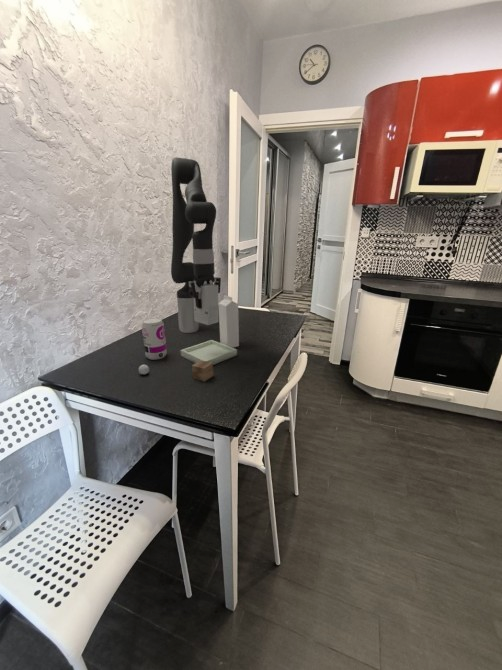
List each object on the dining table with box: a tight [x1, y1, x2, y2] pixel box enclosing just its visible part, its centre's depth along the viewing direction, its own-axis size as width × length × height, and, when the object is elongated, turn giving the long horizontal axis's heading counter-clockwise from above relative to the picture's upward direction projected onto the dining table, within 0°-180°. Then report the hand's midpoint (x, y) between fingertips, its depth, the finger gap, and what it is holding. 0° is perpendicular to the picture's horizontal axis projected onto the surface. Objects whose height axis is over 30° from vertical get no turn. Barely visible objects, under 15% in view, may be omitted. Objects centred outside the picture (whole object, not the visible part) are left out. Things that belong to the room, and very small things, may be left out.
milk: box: [218, 294, 240, 348], centre depth 129 cm, size 6×6×22 cm
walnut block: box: [191, 360, 214, 383], centre depth 105 cm, size 5×5×5 cm
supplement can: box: [141, 317, 168, 361], centre depth 120 cm, size 8×8×15 cm
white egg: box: [138, 364, 150, 376], centre depth 108 cm, size 4×4×4 cm
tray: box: [180, 339, 238, 366], centre depth 123 cm, size 16×16×2 cm
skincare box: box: [194, 283, 219, 326], centre depth 116 cm, size 8×6×15 cm
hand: (206, 306), depth 116 cm, fingers closed on skincare box, 6 cm apart
